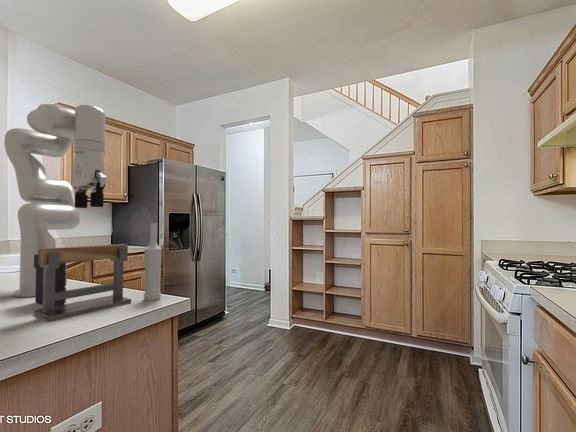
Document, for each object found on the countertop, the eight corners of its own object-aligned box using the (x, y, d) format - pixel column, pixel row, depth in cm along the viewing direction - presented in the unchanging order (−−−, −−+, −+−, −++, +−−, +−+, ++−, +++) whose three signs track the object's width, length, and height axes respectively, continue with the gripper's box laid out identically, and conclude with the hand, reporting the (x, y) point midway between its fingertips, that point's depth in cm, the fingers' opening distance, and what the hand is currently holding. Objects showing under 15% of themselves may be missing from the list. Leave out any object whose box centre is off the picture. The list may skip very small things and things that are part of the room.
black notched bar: (67, 304, 90) (68, 255, 90) (51, 308, 86) (52, 256, 87) (49, 300, 95) (50, 253, 96) (32, 303, 91) (33, 254, 92)
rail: (38, 264, 78) (38, 248, 78) (122, 256, 97) (122, 244, 97) (42, 265, 77) (43, 249, 77) (127, 257, 95) (127, 244, 95)
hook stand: (34, 314, 80) (35, 251, 81) (114, 298, 98) (115, 246, 98) (48, 321, 75) (50, 254, 75) (131, 303, 93) (132, 248, 93)
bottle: (154, 301, 94) (155, 223, 95) (139, 300, 95) (141, 222, 96) (164, 297, 100) (165, 223, 100) (150, 296, 101) (151, 222, 101)
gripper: (62, 150, 89) (61, 207, 89) (89, 142, 80) (88, 205, 79) (89, 155, 95) (88, 208, 95) (118, 148, 86) (117, 207, 85)
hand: (88, 207), depth 87 cm, fingers open, 9 cm apart
